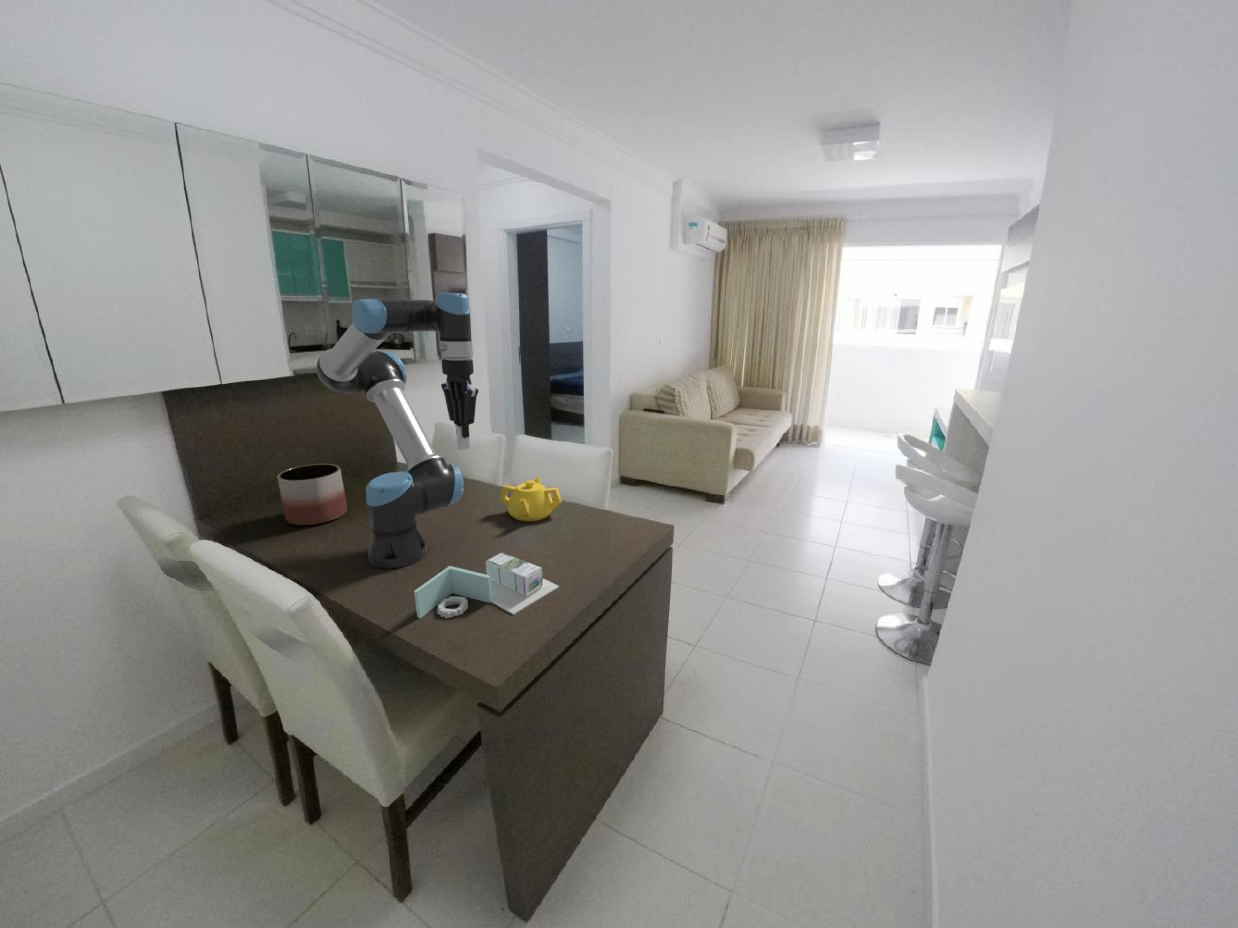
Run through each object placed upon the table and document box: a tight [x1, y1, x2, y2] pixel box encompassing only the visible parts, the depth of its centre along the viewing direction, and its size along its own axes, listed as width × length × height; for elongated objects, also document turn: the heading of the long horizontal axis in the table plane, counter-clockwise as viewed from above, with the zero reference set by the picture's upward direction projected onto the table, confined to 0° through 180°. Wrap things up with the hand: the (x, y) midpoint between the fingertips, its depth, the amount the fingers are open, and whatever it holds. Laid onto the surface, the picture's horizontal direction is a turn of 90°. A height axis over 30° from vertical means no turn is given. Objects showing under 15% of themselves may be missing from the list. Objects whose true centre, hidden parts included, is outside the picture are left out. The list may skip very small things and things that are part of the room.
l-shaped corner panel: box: [413, 565, 492, 619], centre depth 113 cm, size 12×12×8 cm
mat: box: [491, 578, 560, 616], centre depth 122 cm, size 16×15×1 cm
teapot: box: [498, 477, 563, 522], centre depth 165 cm, size 17×17×12 cm
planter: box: [276, 463, 348, 526], centre depth 159 cm, size 18×18×16 cm
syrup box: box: [485, 551, 544, 596], centre depth 123 cm, size 6×6×14 cm
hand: (463, 448), depth 128 cm, fingers closed
